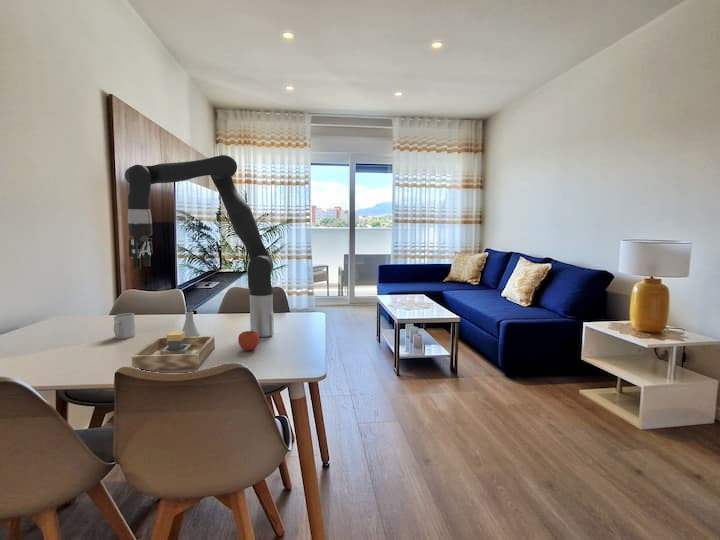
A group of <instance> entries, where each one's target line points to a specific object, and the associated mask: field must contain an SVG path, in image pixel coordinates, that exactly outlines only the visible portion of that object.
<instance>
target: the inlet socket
mask: <svg viewBox="0 0 720 540" xmlns="http://www.w3.org/2000/svg"><path fill="white" fill-rule="evenodd" d="M192 352H193V350H192V344H184V349H183V350H168V345H167V346H166V347H165V348H164V349H162V350H161V351H160V355H173V354H191V353H192Z"/></svg>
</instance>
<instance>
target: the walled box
mask: <svg viewBox="0 0 720 540" xmlns="http://www.w3.org/2000/svg"><path fill="white" fill-rule="evenodd" d="M215 338H216V337H215V336H212V335H211V336H210V335H209V336H205V335H204V336H197V337H185V338H184V344H192V350H193V352H192V353H191V354H173V355H160V351H161V350H162V349H164V348H165V347H166V346H167V345H168V341H167V336H163V337H162V336H161V337H160V336H158V337H157V338H155V339H154V340H152V341H151V342H150V343H148V344H147V345H145V346H144V347H143V348H141V349H140V350H139V351H137V352H135V353H134V354H133V355H132V356H131V368H132V367H134V368H139V369H144V370H143V371H154V370H155V371H156V370H158V371H159V370H187V369H188V370H193V369H195V370H196V369H199V368H200V367H201V366H202V365H203V364H204V362H205V361H206V359H208V358H209V356H210V355H211V354H212V352H213V351H214V350H215V348H216V346H215V345H216V340H215Z"/></svg>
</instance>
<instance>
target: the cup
mask: <svg viewBox="0 0 720 540" xmlns="http://www.w3.org/2000/svg"><path fill="white" fill-rule="evenodd" d="M135 319H136V318H135V313H132V312H129V313H127V312H126V313H118V314H115V315H114V316H113V322H114V324H113V333H114V337H115V339H117V338H118V340H124V339H131V338H134V337H135V336H136V320H135Z"/></svg>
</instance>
